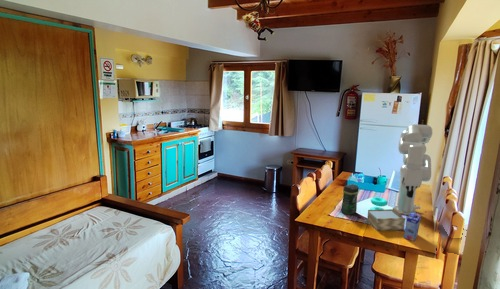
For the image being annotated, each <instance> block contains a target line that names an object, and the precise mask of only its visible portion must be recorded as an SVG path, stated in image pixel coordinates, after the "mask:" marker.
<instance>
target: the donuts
mask: <svg viewBox="0 0 500 289" xmlns="http://www.w3.org/2000/svg"><path fill="white" fill-rule="evenodd" d="M370 202H371V203H372V205H374V206H373V207H371V208H370V209H369V210H384V209H385V208H383V207H385V206H387V205H388V203H389V201H388V200H387V199H386V198H383V197H380V196H379V197H378V196H373V197H372V198H370Z"/></svg>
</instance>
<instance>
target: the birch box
mask: <svg viewBox="0 0 500 289" xmlns="http://www.w3.org/2000/svg"><path fill="white" fill-rule="evenodd" d="M383 209H384V210H370V209H368V210H367V216H366V222H367V223H368V224H369V225H370V226H371V227H372V228H373V229H374V230H375V231H376V232H381V231H382V232H385V231H386V232H387V231H388V232H391V231H405V225H406V217H403V218H378V221H377V220H376V219H375V218H374V217H373V216H372V215H371V214H370V213H369V211H392V210H393V208H392V209H385V208H383Z"/></svg>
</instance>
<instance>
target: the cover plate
mask: <svg viewBox="0 0 500 289" xmlns="http://www.w3.org/2000/svg"><path fill="white" fill-rule="evenodd" d="M392 209H393V210H392V211H369V213H370V214H371V215H372V216H373V217H374V218H375V219H376V220H377V221H378V218H404V217H403V214H402V213H401V212H400V211H399V210H397V209H396V208H394V207H393V208H392Z"/></svg>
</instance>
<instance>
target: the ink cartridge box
mask: <svg viewBox="0 0 500 289" xmlns="http://www.w3.org/2000/svg"><path fill="white" fill-rule="evenodd" d="M421 218H422V215H421V214H420V213H419V212H417V213H416V212H415V213H412V212H411V213H410V215H407V217H406V220H405V226H404V234H403V238H404V239H406V240H410V241H412V242H414V241H415V240H416V238H417V237H418V235H419V229H420V223H421Z"/></svg>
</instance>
